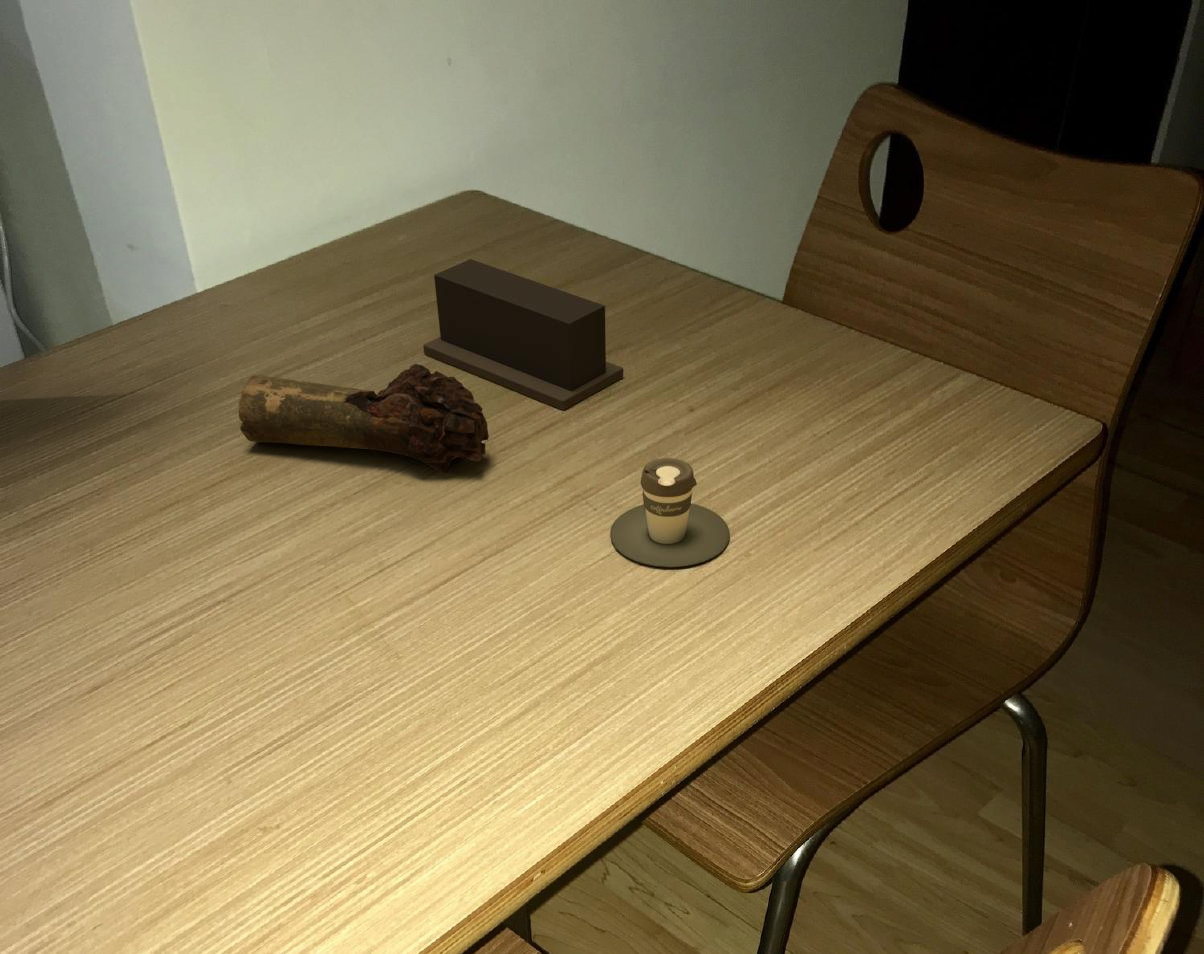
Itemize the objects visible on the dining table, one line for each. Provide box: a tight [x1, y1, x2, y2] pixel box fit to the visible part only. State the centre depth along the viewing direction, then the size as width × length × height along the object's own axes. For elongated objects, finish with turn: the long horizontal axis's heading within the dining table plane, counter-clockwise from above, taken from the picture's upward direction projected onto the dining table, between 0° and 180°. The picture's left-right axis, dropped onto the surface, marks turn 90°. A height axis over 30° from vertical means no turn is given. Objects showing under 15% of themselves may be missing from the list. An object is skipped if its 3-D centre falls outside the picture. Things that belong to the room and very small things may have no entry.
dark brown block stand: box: [422, 258, 624, 411], centre depth 99 cm, size 15×7×6 cm, turn 49°
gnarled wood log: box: [237, 363, 490, 473], centre depth 90 cm, size 18×7×6 cm, turn 73°
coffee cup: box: [609, 457, 731, 569], centre depth 82 cm, size 12×12×5 cm
